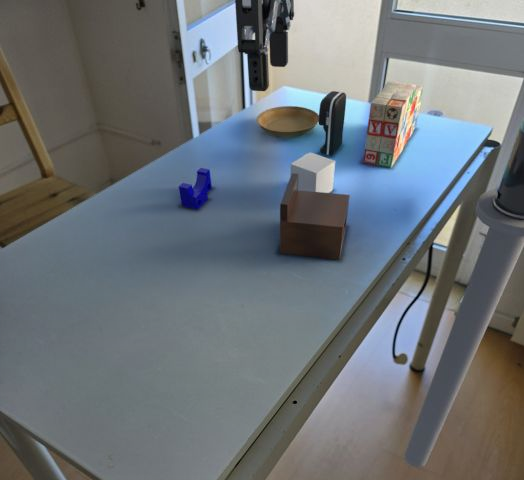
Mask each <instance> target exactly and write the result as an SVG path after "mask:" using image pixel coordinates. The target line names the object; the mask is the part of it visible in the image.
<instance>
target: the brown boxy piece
mask: <svg viewBox="0 0 524 480" xmlns="http://www.w3.org/2000/svg"><path fill="white" fill-rule="evenodd" d="M298 184H299V174H295V173H292V174H291V177H290V178H289V180H288V183H287V185H286V188H285V190H284V193H283V195H282V198H281V201H280V203H279V254H283V255H284V254H285V255H295V256H301V257H302V256H304V257H311V258H312V257H313V258H320V259H330V260H340V259H341V255H342V250H343V245H344V238H345V234H346V230H347V221H348V212H349V203H350V194H344V193H333V192H330V193H323V192H311V191H300V190H298Z"/></svg>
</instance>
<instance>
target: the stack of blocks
mask: <svg viewBox="0 0 524 480" xmlns="http://www.w3.org/2000/svg"><path fill="white" fill-rule="evenodd" d="M423 90H424V85H419V84H413V83H405V82H404V83H403V82H396V81H387V82H386V84H385V85H384V87H383V88H382V89H381V90H380V91H379V92H378V93H377V95H376V96H375V97H374V98H373V100H372V101H371V102H370V107H369V114H368V121H367V129H366V137H365V146H364V151H363V159H362V163H363V164H367V165H373V166H379V167H384V168H388V169H389V168H390V169H391V168H392V167H393V166H394V164H395V163H396V162H397V160H398V158H399V157H400V155H401V153H402V152H403V150H404V147H406V145H407V142H408V141H409V139H410V138H411V136H412V135H413V133H414V132H415V130H416V127H417V123H418V118H419V113H420V108H421V105H422V95H423Z"/></svg>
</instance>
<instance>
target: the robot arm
mask: <svg viewBox="0 0 524 480" xmlns="http://www.w3.org/2000/svg"><path fill="white" fill-rule="evenodd" d="M294 1H295V0H234V3H235V4H234V5H235V20H236V39H237V50H238V53H242V54H245V55H246V60H247V72H248V74H247V75H248V87H249V89H250V91H253V92H266V91H267V90H268V89H269V87H270V77H269V76H270V73H269V63H270V66H271V67H274V68H285V67H286V66H287V65H288V63H289V31H290V28H291V25H292V24H291V23H292V22H291V21H294V17H295V2H294ZM253 38H254V39H253ZM268 52H269V53H268ZM497 188H498V189H497ZM494 189H495V196H494V198H493V201H492V205H493V207H494V208H495V210H496V211H498V212H499V213H501V214H503V215H505V216H507V217H510V218H514V219H519V220H524V116H523V118H522V119H521V123H520V126H519V128H518V132H517V134H516V137H515V139H514V142H513V145H512V148H511V151H510V153H509V156H508V159H507V162H506V164H505V167H504V169H503V172H502V175H501V178H500V181H499V183H498V184H496V186H495V188H494Z"/></svg>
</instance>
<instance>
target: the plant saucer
mask: <svg viewBox="0 0 524 480" xmlns="http://www.w3.org/2000/svg"><path fill="white" fill-rule="evenodd" d="M318 121H319V113H318V112H316V111H315V110H313V109H310V108H307V107H303V106H296V105H284V106H276V107H271V108H269V109H266V110H264V111H262V112H260V113H259V114H258V115H257V117H256V122H257V124H258V125H259V127H260V128H261V129H262V130H263V131H264V132H265V133H267V134H268V135H269V136H271V137H274V138H279V139H296V138H300V137H303V136H305V135H307V134H308V133H310V132H311V131H312V130H313V129H314V128H315V127H316V126H317V124H319V122H318Z"/></svg>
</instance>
